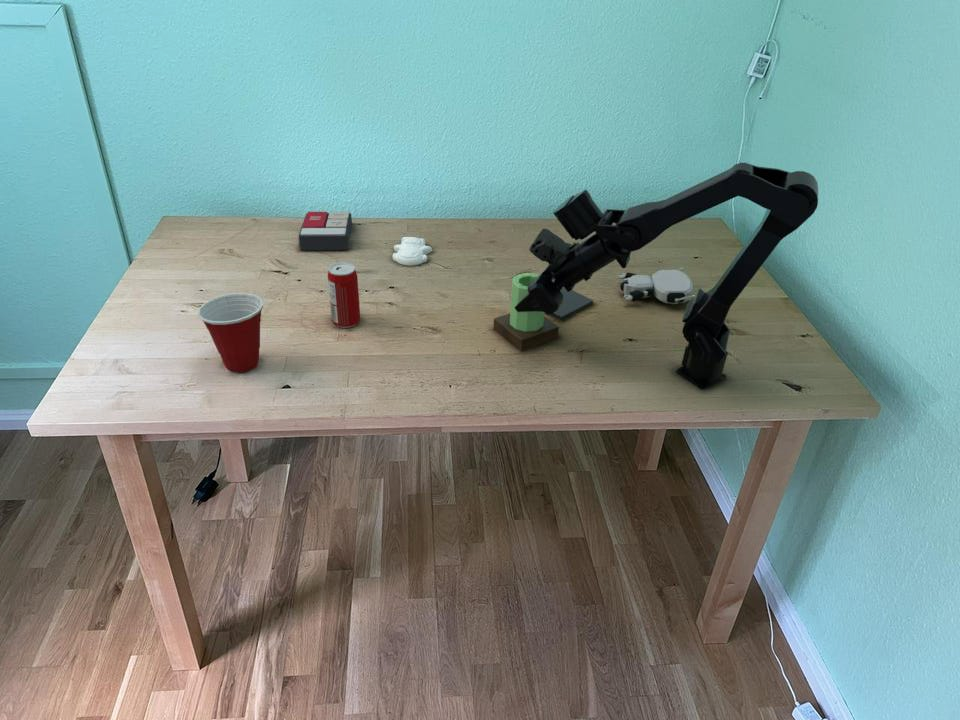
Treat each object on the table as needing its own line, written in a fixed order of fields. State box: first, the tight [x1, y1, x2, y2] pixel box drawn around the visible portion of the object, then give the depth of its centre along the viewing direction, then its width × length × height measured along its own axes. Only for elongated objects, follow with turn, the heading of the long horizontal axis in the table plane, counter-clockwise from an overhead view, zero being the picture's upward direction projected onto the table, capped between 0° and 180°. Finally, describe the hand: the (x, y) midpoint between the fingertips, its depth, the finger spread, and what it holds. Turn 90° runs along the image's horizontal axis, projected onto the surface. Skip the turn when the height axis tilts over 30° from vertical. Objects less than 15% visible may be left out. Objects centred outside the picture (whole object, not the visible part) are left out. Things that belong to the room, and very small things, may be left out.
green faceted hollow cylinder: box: [509, 272, 545, 332], centre depth 134 cm, size 6×7×9 cm
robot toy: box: [617, 267, 696, 305], centre depth 150 cm, size 12×4×15 cm
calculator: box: [298, 211, 353, 251], centre depth 169 cm, size 11×4×15 cm
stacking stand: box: [492, 312, 560, 352], centre depth 136 cm, size 9×9×7 cm
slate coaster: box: [550, 287, 594, 322], centre depth 148 cm, size 10×10×1 cm
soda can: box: [327, 261, 361, 329], centre depth 136 cm, size 6×6×12 cm
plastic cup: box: [197, 292, 264, 374], centre depth 123 cm, size 11×11×12 cm
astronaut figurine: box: [391, 236, 433, 267], centre depth 163 cm, size 9×12×3 cm
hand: (524, 298), depth 134 cm, fingers open, 9 cm apart
